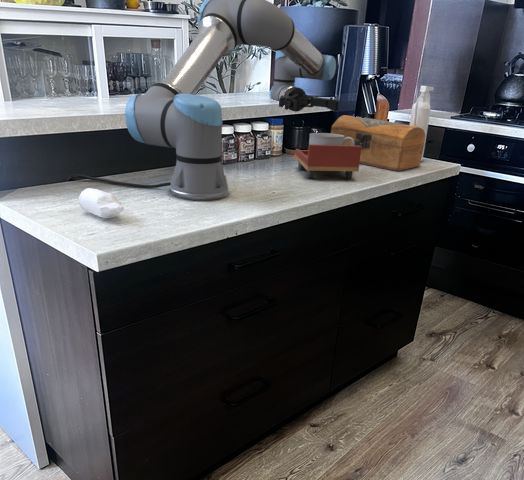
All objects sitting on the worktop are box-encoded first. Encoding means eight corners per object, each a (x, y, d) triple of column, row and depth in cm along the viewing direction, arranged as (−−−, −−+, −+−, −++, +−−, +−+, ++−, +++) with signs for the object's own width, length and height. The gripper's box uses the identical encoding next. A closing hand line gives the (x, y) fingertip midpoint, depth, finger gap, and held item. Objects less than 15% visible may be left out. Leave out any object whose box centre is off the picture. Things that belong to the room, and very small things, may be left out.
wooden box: (325, 157, 192) (329, 116, 185) (351, 152, 202) (356, 113, 195) (395, 172, 174) (403, 128, 167) (420, 166, 185) (428, 124, 178)
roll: (110, 226, 112) (107, 200, 109) (79, 213, 119) (76, 188, 116) (133, 221, 116) (131, 196, 113) (102, 209, 123) (99, 185, 120)
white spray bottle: (395, 161, 192) (408, 85, 179) (410, 157, 200) (424, 84, 187) (412, 164, 188) (427, 87, 176) (426, 160, 196) (441, 86, 184)
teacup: (302, 161, 162) (304, 133, 158) (313, 156, 170) (316, 129, 166) (345, 167, 157) (349, 139, 153) (354, 161, 166) (358, 134, 162)
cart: (306, 180, 158) (309, 145, 153) (293, 167, 174) (296, 134, 169) (356, 181, 161) (361, 146, 155) (339, 168, 177) (343, 135, 171)
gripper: (324, 110, 188) (351, 119, 171) (258, 109, 181) (280, 118, 164) (326, 87, 184) (354, 93, 167) (260, 85, 177) (281, 91, 160)
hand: (317, 105), depth 165 cm, fingers open, 13 cm apart
